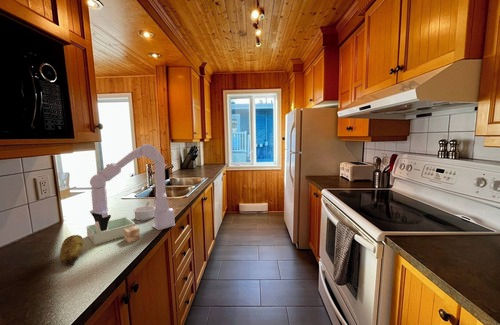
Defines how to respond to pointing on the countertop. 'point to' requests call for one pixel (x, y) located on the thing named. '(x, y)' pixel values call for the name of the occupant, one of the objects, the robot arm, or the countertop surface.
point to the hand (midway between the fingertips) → (101, 228)
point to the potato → (71, 249)
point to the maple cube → (131, 234)
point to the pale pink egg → (98, 227)
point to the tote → (109, 230)
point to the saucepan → (144, 212)
